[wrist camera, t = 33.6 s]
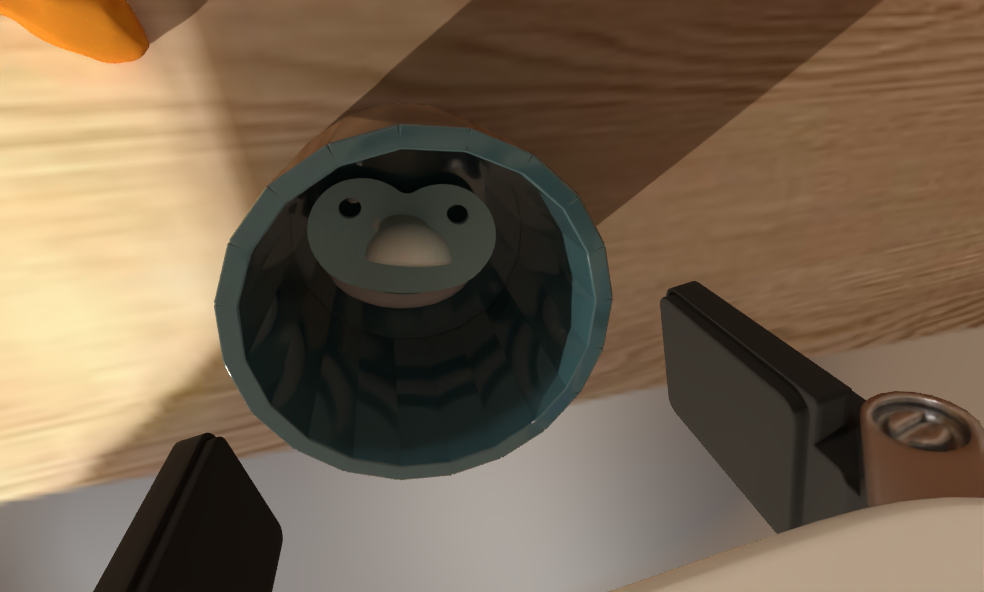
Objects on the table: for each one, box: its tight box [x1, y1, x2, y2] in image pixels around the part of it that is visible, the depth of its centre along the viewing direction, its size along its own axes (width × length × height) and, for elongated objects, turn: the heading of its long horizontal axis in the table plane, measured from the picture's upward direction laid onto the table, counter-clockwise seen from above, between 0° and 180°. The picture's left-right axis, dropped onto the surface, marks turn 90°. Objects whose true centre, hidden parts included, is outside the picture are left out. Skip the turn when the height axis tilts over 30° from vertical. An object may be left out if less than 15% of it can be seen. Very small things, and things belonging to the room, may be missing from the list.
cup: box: [214, 103, 612, 480], centre depth 19 cm, size 11×11×10 cm
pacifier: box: [307, 178, 496, 309], centre depth 19 cm, size 7×6×6 cm
